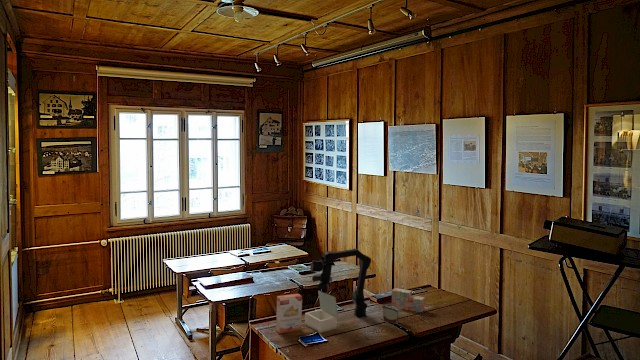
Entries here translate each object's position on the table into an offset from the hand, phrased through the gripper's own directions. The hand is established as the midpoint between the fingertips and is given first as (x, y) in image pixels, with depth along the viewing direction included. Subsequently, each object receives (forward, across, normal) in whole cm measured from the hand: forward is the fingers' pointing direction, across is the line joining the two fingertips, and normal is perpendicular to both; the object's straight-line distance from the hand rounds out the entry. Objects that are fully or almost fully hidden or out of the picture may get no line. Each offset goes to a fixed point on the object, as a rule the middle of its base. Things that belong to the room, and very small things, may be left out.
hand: (323, 295), depth 287 cm
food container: (+11, -5, +44) cm, 46 cm away
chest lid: (+1, +9, +4) cm, 10 cm away
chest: (+14, +13, +2) cm, 19 cm away
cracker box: (+16, +24, -15) cm, 32 cm away
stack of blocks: (+10, -31, +54) cm, 63 cm away
